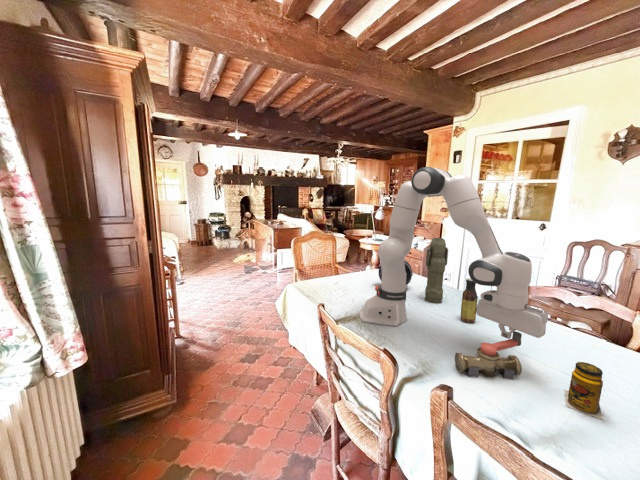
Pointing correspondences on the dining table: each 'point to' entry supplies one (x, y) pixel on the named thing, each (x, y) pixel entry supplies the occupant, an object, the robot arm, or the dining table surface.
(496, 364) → the valve body
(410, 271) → the ring
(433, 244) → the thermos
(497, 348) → the lever
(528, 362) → the dining table surface
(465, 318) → the sauce bottle
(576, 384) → the condiment
